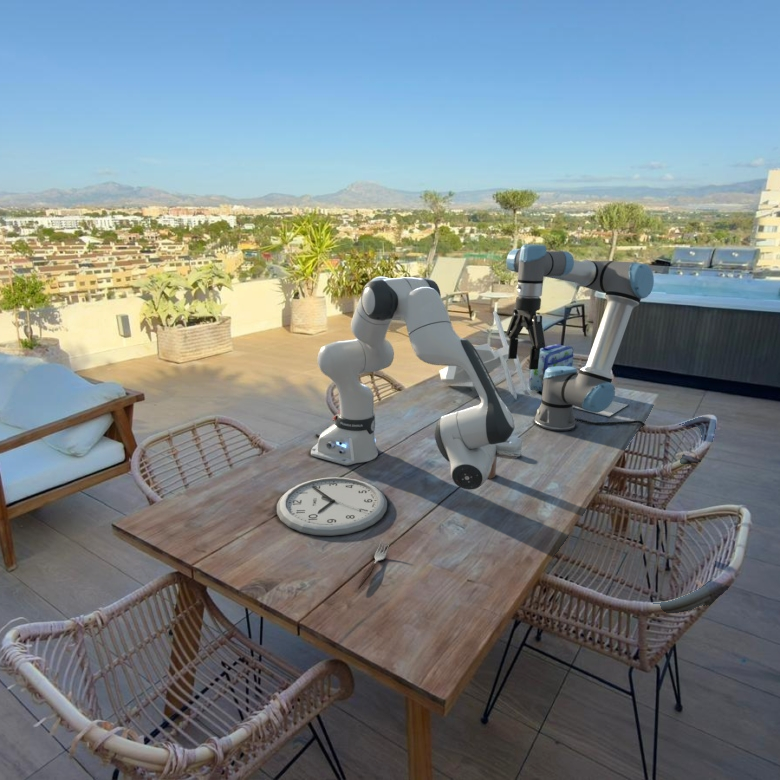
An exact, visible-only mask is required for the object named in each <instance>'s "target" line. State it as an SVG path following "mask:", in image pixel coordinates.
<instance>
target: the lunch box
mask: <svg viewBox="0 0 780 780" xmlns="http://www.w3.org/2000/svg"><path fill="white" fill-rule="evenodd" d="M573 363H574V347H572V346H568V345H562V344H551V345H547V346H545V348H541V349H540V356H539V363H538V369H532V370H530V369H529V377H528V379H529V380H528V387H529V390H531V391H536V392H541V393H542V391H543V380H544V379H543V378H544V375H545V370H546V369H547V368H549V367H555V366H570V367H573Z"/></svg>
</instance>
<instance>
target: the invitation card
mask: <svg viewBox="0 0 780 780" xmlns="http://www.w3.org/2000/svg"><path fill="white" fill-rule="evenodd" d="M628 406H629V404H627V403H623V402H618V401H614V400H613V401H612V402H611V404H610V405H609V406H608V407H607V408H606V409H604V410H603V411H601V412H592V411H587V410H584V409H582V408H579V407H576V406H574V407H573V409H575V410H581V411H584V412H587V413H593V414H596V415H600V416H604V417H608V418H609V417H611V416H613V415H614V414H616V413H617V412H619V411H621V410H623V409H624V408H626V407H628Z"/></svg>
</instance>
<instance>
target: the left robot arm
mask: <svg viewBox="0 0 780 780" xmlns="http://www.w3.org/2000/svg"><path fill="white" fill-rule="evenodd" d="M393 321H404V322H405V327H406V330H407V335H408V338H409V342H410V346H411V348H412V350H413V353H414V354H415V356H416V357H417V358H418V359H419V360H420V361H422V362H424V363H425V364H429V365H433V366H441V367H443V366H444V367H445V366H446V367H448V366H458V367H461V368H463V369H464V370H465V371H466V372H467V373H468V375H469V377H470V379H471V381H472V382H471V383H472V385H473V387H474V389H475V391H476V393H477V395H478V396H479V399H480V403H478V404H477V405H474V406H470V407H466V408H464V409H461V410H456V411H453V412H451V413H447V414H444V415H441V416H440V418H439V419H438V421H437V422H436V426H435V430H434V438H435V444H436V446H437V449H438V450H439V452H440V454H441V456H442V457H443V458H444V459H445V460H446V461H447V462H448V463H449V464H450V477H451V479H452V482H453V483H454V484H455V486H458V487H459V488H460V489H463V490H467V491H468V490H469V491H470V490H471V491H472V490H476V489H478V488H480V487H482V485H484V484H485V483H486V481H487V480H488V479H489V478H488V476H489V473H490V471H491V467H492V464H493V462H494V459H495V457H497V458H500V459H501V458H502V459H506V460H507V459H508V460H514V459H517V458H520V457H521V455H522V447H523V439H521V438H520V437H518V436H512V434H513V432H514V430H515V429H516V428H515V421H514V417H513V415H512V413H511V411H510V409H509V407H508V406H507V405H506V403H505V402H504V400H503V398H502V397H501V395H500V392H499V391H498V389H497V387H496V385H495V383H494V381H493V379H492V377H491V375H490V373H488V371H487V369H486V367H485V365H484V364H483V362H482V360H481V358H480V356H479V354H478V353H477V351H476V349H475V348H474V346H475V345H473V343H471V341H470V340H469V339H467V338H461V336H460V335H458V334H457V332H456V331H455V329H454V327H453V324H452V321H451V318H450V315H449V312H448V310H447V307H446V305H445V303H444V301H443V299H442V296H441V290H440V287H439V286H438V283H437V282H436V281H434V280H433V279H430V278H429V277H423V276H421V277H411V276H410V277H409V276H400V277H393V278H390V277H386V276H377V277H374V278H372V279H371V280H370V281H368V282H367V283H366V284H365V285H364V287H363V289H362V291H361V295H360V297H359V299H358V302H357V304H356V307H355V309H354V313H353V316H352V318H351V321H350V331H351V333H352V335H353V336H354V337H355V338H354V339H348V340H347V339H346V340H340V341H338V340H337V341H333V342H330V343H327V344H325V345H323V346H321V347H320V348H319V351H318V353H317V366H318V368H319V370H320V371H321V372H322V374H323V375H324V376H326V377H327V378H329V379H330V380H331V381H332V382H333V384H334V385H335V387H336V390H337V392H338V402H339V410H338V411H337V413H336V414H335V415H334V416H333V417H332V422H334V423H333V424H331V425H330V426H327V427H326V428H325V430H323V431H322V432H321V433H320V434H317V433H316V434H315V437H316V438H318V440H317V443H316V444H314V445H313V447H312V448H311V449H310V456H311V457H314V458H318V459H322V460H325V461H329V462H333V463H336V464H339V465H344V466H351V465H354V464H361V463H367V462H370V461H373V460H375V459H376V458H377V457H378V455H379V451H378V448H377V443H376V442H377V441H376V437H375V430H376V414H375V412H374V409H375V408H374V404H375V400H374V399H375V397H374V392H373V389H372V388H371V387H369V385H367V384H364V383H362V382H360V375H362V374H369V373H375V372H379V371H381V370H384V369H387V368H389V367H390V366H391V365H392V364H393V361H394V359H395V351H394V346H393V345H392V343H391V341H389V340H388V339H387V334H388V331H389V330H390V326H391V324H392V322H393Z"/></svg>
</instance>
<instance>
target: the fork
mask: <svg viewBox="0 0 780 780" xmlns="http://www.w3.org/2000/svg"><path fill="white" fill-rule="evenodd" d="M381 543H382V545H381ZM384 543H385V545H384ZM390 543H391V542H388V543H387V542H385V541H383V542H382V541H380V542H379V545H378V547H377V550H376V551H375V554H374V562H373V563H372V564H371V565H370V566H369V567H368V568H367V569H366V571H365V573H364V575H363V577H362V579H361V581H360V583H359V585H358V588H357V589H360V588H362V586H363V585H364V584H365V582H366V581H367V580H368V578H369V577H370V576H371V575H372V573H373V571H374V570H375V567H376V565H377V562H379V561H384V560H385V559H386V557H387V554H388V551H389V547H390ZM387 544H388V545H387ZM380 547H381V548H380ZM383 547H384V548H383Z"/></svg>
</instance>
